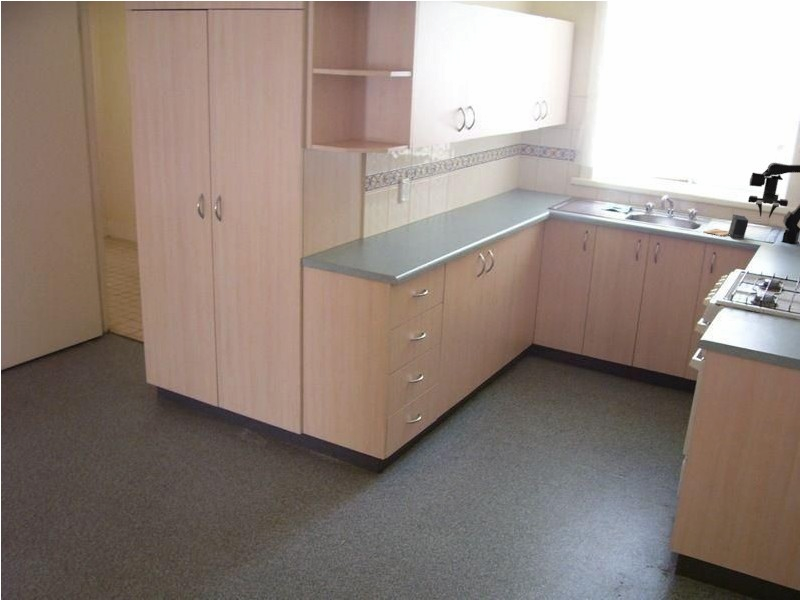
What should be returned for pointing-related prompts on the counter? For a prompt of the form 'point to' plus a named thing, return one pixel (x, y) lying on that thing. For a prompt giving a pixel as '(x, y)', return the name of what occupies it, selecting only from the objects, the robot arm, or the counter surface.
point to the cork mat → (717, 232)
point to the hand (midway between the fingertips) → (764, 217)
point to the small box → (738, 226)
